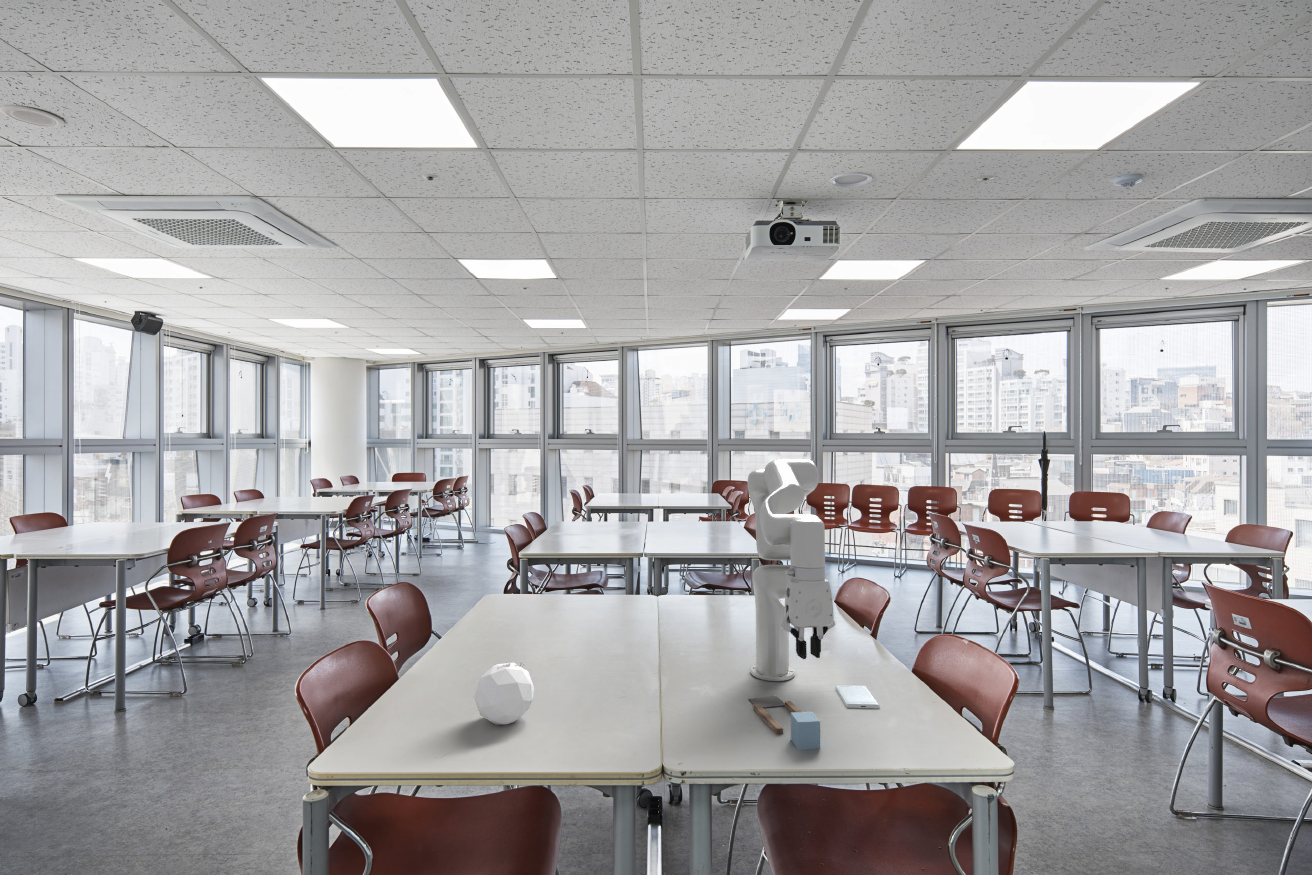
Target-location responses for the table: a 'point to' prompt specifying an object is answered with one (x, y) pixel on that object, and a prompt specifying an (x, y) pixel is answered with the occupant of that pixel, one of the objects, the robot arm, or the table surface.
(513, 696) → the geodesic sphere
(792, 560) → the robot arm
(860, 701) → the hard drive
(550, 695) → the table surface
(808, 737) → the block
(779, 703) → the guide channel
